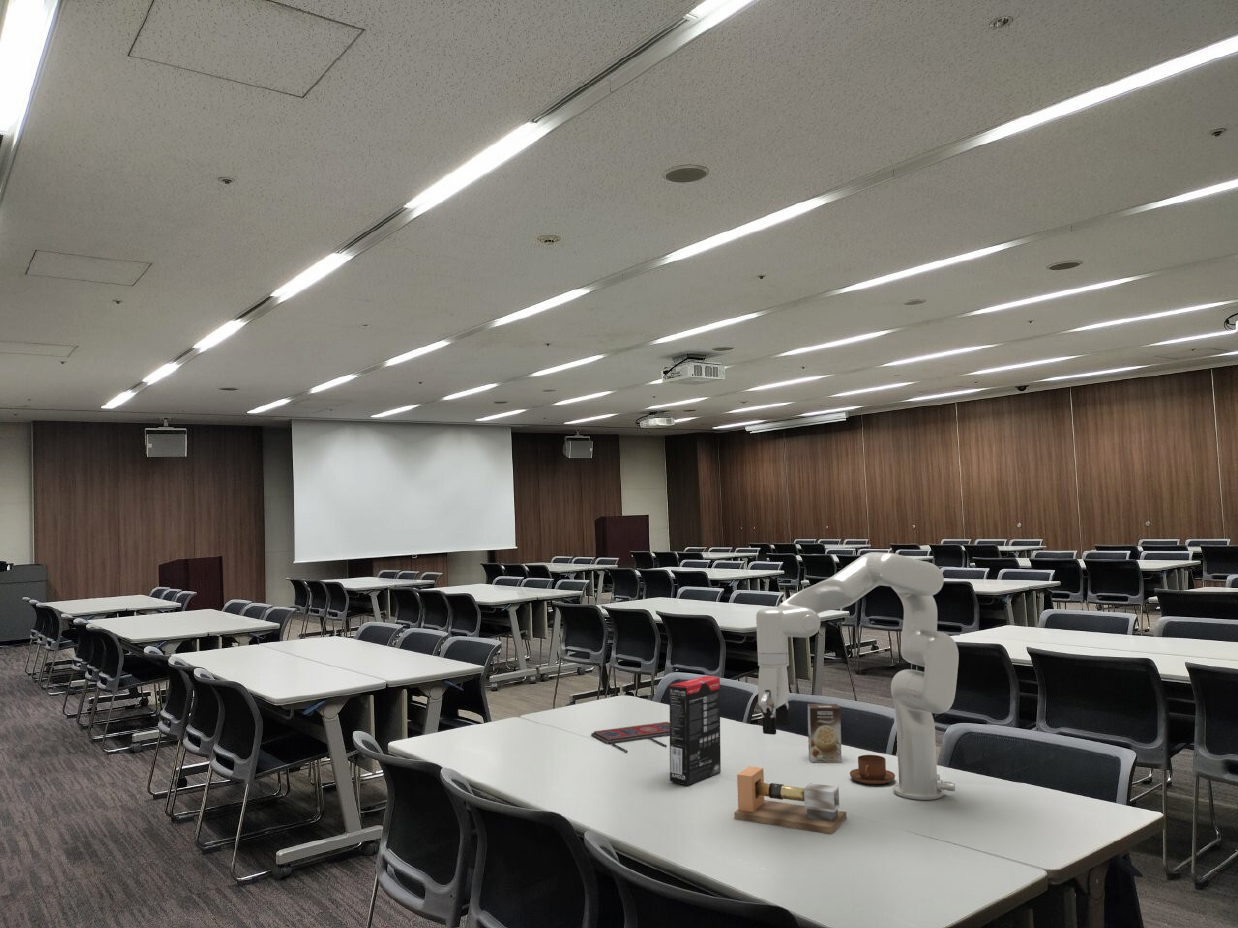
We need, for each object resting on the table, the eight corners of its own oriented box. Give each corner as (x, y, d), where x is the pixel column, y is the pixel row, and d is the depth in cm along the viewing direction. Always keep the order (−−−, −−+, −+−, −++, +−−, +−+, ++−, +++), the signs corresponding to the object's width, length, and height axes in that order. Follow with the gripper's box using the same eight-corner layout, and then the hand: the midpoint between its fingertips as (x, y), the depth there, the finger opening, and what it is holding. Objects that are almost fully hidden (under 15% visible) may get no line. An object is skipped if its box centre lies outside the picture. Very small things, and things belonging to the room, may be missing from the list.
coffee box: (811, 762, 257) (808, 707, 258) (808, 756, 264) (806, 703, 265) (842, 762, 256) (840, 707, 257) (839, 757, 263) (837, 703, 264)
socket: (764, 802, 217) (763, 767, 218) (752, 812, 210) (751, 776, 211) (750, 800, 219) (749, 766, 220) (738, 809, 212) (737, 774, 213)
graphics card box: (703, 768, 254) (700, 674, 256) (723, 772, 249) (720, 676, 251) (669, 783, 240) (666, 683, 242) (689, 787, 236) (686, 685, 238)
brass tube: (815, 801, 208) (814, 786, 209) (810, 805, 205) (810, 790, 206) (750, 792, 217) (750, 778, 217) (745, 796, 214) (745, 781, 214)
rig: (846, 817, 209) (845, 782, 209) (832, 833, 198) (830, 796, 199) (752, 804, 221) (751, 770, 221) (734, 818, 210) (733, 783, 211)
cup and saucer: (897, 788, 231) (896, 764, 232) (851, 786, 234) (850, 763, 234) (893, 775, 243) (892, 753, 243) (848, 773, 245) (847, 751, 246)
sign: (706, 736, 286) (623, 748, 273) (706, 743, 285) (624, 755, 273) (668, 720, 310) (590, 731, 297) (668, 726, 309) (590, 737, 297)
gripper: (770, 653, 224) (773, 720, 223) (746, 663, 209) (749, 736, 208) (798, 654, 221) (801, 722, 220) (776, 665, 206) (779, 738, 204)
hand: (776, 729), depth 214 cm, fingers open, 9 cm apart
